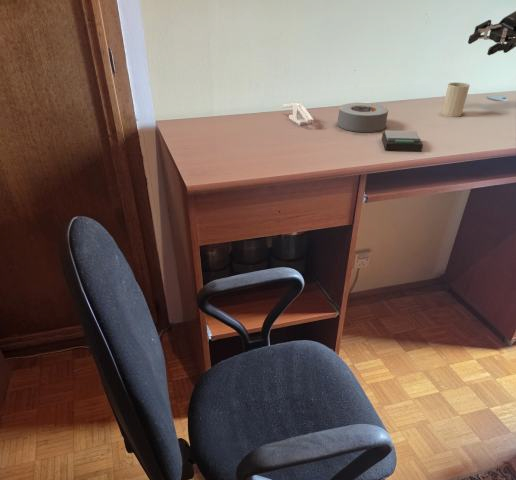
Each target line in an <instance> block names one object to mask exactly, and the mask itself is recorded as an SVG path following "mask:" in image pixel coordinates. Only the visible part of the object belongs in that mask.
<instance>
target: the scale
mask: <svg viewBox="0 0 516 480" xmlns="http://www.w3.org/2000/svg"><path fill="white" fill-rule="evenodd" d="M381 142H382V145H383V149H384V151H385V152H413V153H417V152H418V153H419V152H420V153H421V152H423V151H422V150H423V147H424V144H423V142H422V139H421V137H420V135H419V134H418V132H417V130H386V129H384V132H382V135H381Z"/></svg>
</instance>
